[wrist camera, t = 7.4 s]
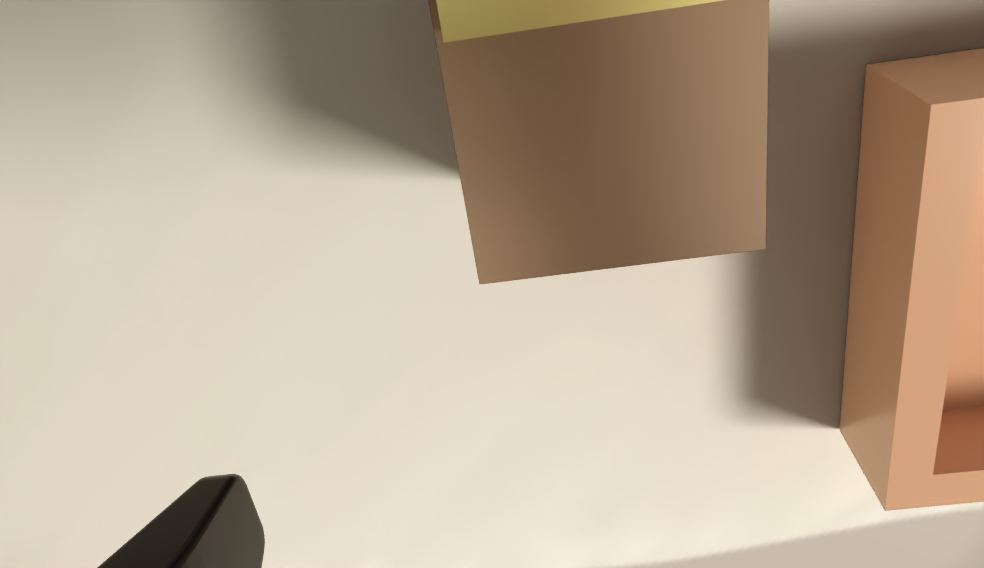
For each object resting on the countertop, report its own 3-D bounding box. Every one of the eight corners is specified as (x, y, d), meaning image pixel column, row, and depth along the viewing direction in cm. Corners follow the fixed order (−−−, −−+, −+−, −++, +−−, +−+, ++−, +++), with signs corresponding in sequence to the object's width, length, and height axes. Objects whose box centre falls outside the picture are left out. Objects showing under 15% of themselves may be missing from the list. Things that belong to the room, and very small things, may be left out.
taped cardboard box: (697, -88, 16) (786, -56, 11) (703, 152, 18) (778, 270, 13) (448, -48, 16) (421, 1, 11) (486, 181, 19) (477, 307, 14)
